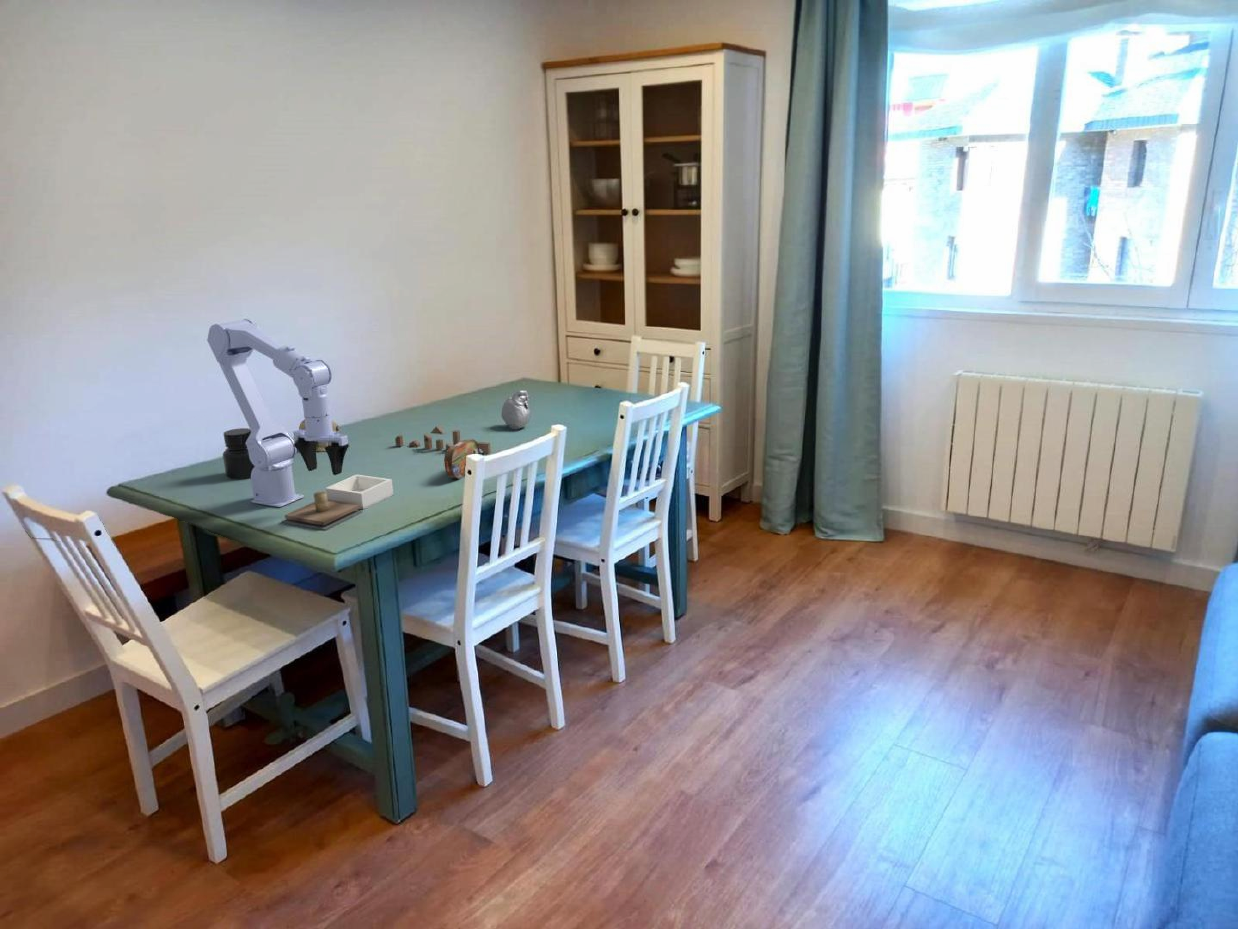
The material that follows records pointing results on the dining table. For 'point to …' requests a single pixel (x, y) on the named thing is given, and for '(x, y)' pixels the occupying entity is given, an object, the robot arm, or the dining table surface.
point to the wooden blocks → (441, 441)
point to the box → (360, 490)
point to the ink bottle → (237, 454)
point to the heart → (516, 410)
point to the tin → (459, 457)
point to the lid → (322, 510)
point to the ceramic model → (320, 445)
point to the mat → (323, 527)
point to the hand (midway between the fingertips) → (324, 471)
